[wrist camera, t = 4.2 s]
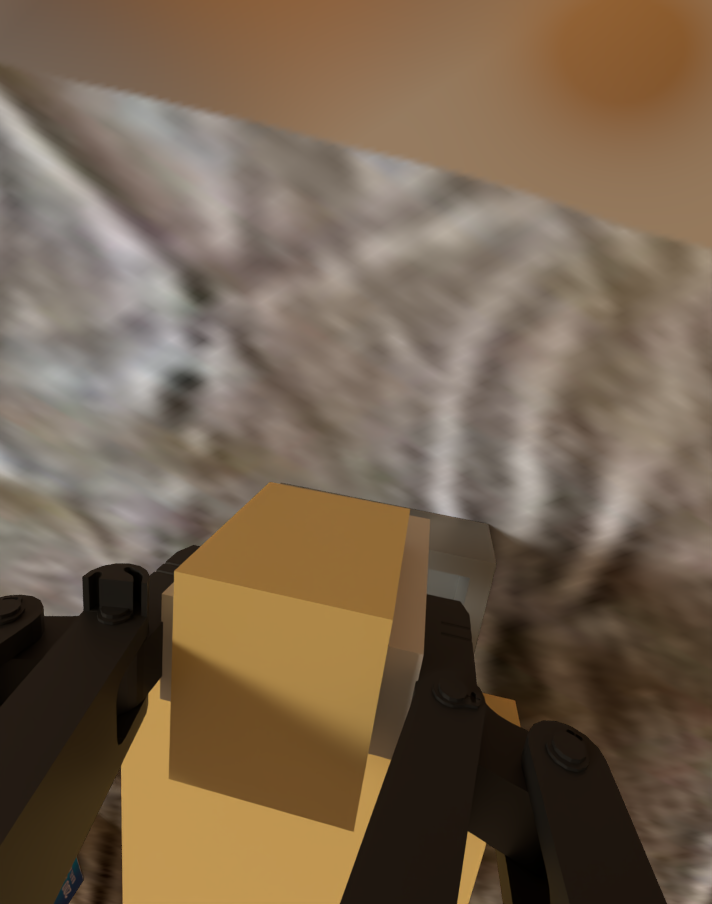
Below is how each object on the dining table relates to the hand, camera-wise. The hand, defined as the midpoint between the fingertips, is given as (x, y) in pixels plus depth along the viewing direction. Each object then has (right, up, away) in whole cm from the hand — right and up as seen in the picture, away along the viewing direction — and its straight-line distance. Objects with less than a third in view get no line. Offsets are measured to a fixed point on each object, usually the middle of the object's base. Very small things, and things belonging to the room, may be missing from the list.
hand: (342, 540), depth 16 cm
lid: (-2, -10, +1) cm, 10 cm away
